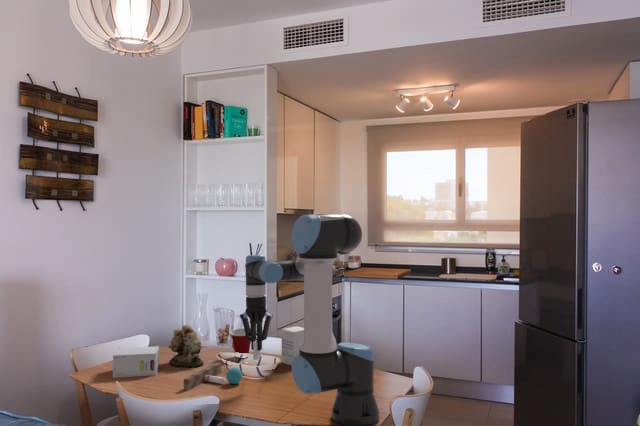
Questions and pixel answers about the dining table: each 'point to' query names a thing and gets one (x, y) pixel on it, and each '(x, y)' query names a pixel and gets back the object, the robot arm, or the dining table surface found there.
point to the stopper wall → (201, 376)
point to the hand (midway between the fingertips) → (256, 358)
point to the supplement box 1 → (135, 361)
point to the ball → (234, 375)
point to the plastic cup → (240, 341)
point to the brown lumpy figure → (186, 348)
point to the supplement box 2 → (291, 343)
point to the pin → (214, 379)
